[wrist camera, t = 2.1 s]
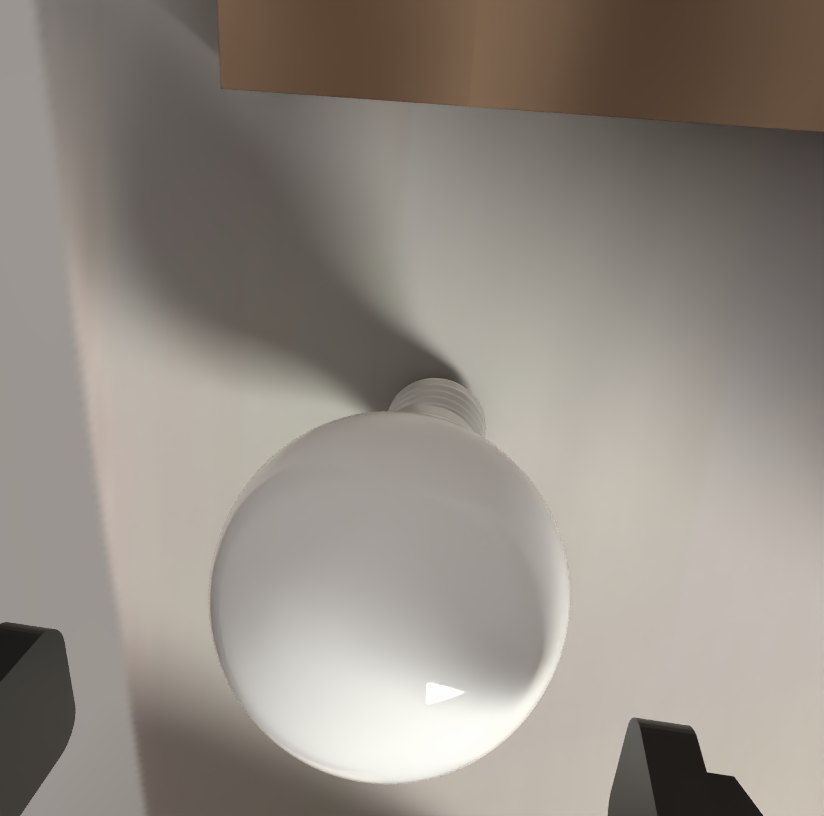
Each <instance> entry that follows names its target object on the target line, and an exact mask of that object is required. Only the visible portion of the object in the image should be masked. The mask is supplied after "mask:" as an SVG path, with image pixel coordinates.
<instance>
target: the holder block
mask: <svg viewBox="0 0 824 816" xmlns="http://www.w3.org/2000/svg"><path fill="white" fill-rule="evenodd" d="M217 6H218V32H219V57H220V83H221V89H234V90H248V91H262V92H276V93H290V94H304V95H317V96H331V97H345V98H359V99H373V100H387V101H401V102H414V103H428V104H442V105H456V106H470V107H484V108H498V109H512V110H525V111H539V112H553V113H567V114H581V115H595V116H609V117H623V118H636V119H650V120H664V121H678V122H692V123H706V124H720V125H733V126H747V127H761V128H775V129H789V130H803V131H817V132H824V0H217Z"/></svg>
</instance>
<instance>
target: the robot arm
mask: <svg viewBox="0 0 824 816" xmlns="http://www.w3.org/2000/svg"><path fill="white" fill-rule="evenodd" d="M74 720H75V702H74V697H73V691H72V685H71V678H70V673H69V666H68V661H67V654H66V648H65V642H64V638H63V636H62V634H61V633H60V631H58V630H55V629H49V628H43V627H36V626H29V625H22V624H16V623H8V622H5V623H1V624H0V816H20V815H21V814H22V812H23V811H24V809H25V808H26V806H27V805H28V803H29V802H30V800H31V799H32V797H33V796H34V794H35V793H36V791H37V790H38V789H39V787H40V786H41V784H42V783H43V781H44V780H45V778H46V777H47V775H48V774H49V772H50V771H51V769H52V768H53V767H54V765H55V764H56V762H57V761H58V759H59V758H60V756H61V754H62V753H63V751H64V750H65V748H66V746H67V743H68V741H69V739H70V736H71V733H72V729H73V725H74ZM608 816H763V815H762V813H761V812H760V811H759V809H758V808H757V807H756V805H755V804H754V803H753V801H752V800H751V799H750V797H749V796H748V795H747V793H746V792H745V791H744V789H743V788H742V787H741V785H740V784H739V783H738V781H737V780H736V779H735V777H733V776H727V775H720V774H714V773H707V771H706V768H705V764H704V761H703V757H702V753H701V750H700V746H699V743H698V739H697V736H696V734H695V732H694V730H693V728H692V727H691V726H687V725H680V724H674V723H667V722H660V721H653V720H647V719H640V718H632V719H631V720H630V722H629V725H628V728H627V732H626V735H625V739H624V743H623V747H622V751H621V755H620V759H619V763H618V766H617V770H616V774H615V778H614V782H613V786H612V790H611V794H610V799H609V807H608Z"/></svg>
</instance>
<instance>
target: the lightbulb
mask: <svg viewBox="0 0 824 816" xmlns="http://www.w3.org/2000/svg"><path fill="white" fill-rule="evenodd" d="M485 430H486V421H485V415H484V412H483V409H482V407H481V405H480V403H479V401H478V400H477V399H476V397H475V396H474V395H473V394H472V393H471V392H470V391H469V390H467V389H466V388H465V387H463V386H462V385H460V384H458V383H456V382H454V381H451V380H447V379H442V378H427V379H422V380H418V381H416V382H413V383H411V384H409V385H408V386H406V387H405V388H403V389H402V390H401V391H400V392H399V393H398V394H397V395H396V397H395V398H394V399H393V401H392V403H391V405H390V408H389V410H388V411H376V412H367V413H361V414H356V415H351V416H347V417H343V418H340V419H337V420H334V421H331V422H328V423H325V424H323V425H321V426H318V427H316V428H314V429H312V430H310V431H308V432H306V433H305V434H303V435H301V436H299V437H298V438H296V439H295V440H293V441H291V442H290V443H289V444H287V445H286V446H284V447H283V448H282V449H281V450H279V451H278V452H277V453H276V454H274V455H273V456H272V457H271V458H270V459H269V460H268V461H267V462H266V463H265V464H264V465H263V466H262V467H261V468H260V469H259V470H258V471H257V472H256V473H255V474H254V476H253V477H252V478H251V479H250V481H249V482H248V483H247V484H246V486H245V487H244V489H243V490H242V492H241V493H240V495H239V496H238V498H237V499H236V501H235V503H234V504H233V506H232V508H231V510H230V512H229V514H228V516H227V518H226V521H225V523H224V525H223V528H222V530H221V533H220V536H219V538H218V542H217V545H216V548H215V552H214V556H213V561H212V566H211V572H210V580H209V594H208V605H209V620H210V627H211V633H212V638H213V643H214V647H215V651H216V654H217V658H218V661H219V663H220V666H221V669H222V671H223V674H224V676H225V678H226V680H227V682H228V684H229V686H230V688H231V690H232V692H233V694H234V695H235V697H236V699H237V700H238V702H239V703H240V705H241V706H242V708H243V709H244V711H245V712H246V713H247V715H248V716H249V717H250V718H251V720H252V721H253V722H254V723H255V724H256V725H257V727H258V728H259V729H260V730H261V731H262V732H263V733H264V734H265V735H266V736H267V737H268V738H270V739H271V740H272V741H273V742H274V743H275V744H277V745H278V746H279V747H280V748H282V749H283V750H284V751H286V752H287V753H289V754H290V755H292V756H293V757H295V758H296V759H298V760H300V761H302V762H303V763H305V764H307V765H309V766H311V767H313V768H315V769H317V770H320V771H322V772H325V773H327V774H330V775H333V776H336V777H340V778H343V779H347V780H351V781H357V782H363V783H371V784H405V783H413V782H419V781H425V780H429V779H433V778H437V777H440V776H443V775H446V774H449V773H452V772H454V771H456V770H459V769H461V768H463V767H465V766H467V765H469V764H471V763H473V762H475V761H477V760H478V759H480V758H482V757H483V756H485V755H486V754H488V753H489V752H491V751H492V750H494V749H495V748H496V747H498V746H499V745H500V744H501V743H503V742H504V741H505V740H506V739H507V738H508V737H509V736H510V735H511V734H513V733H514V732H515V731H516V730H517V728H518V727H519V726H520V725H521V724H522V723H523V722H524V721H525V720H526V718H527V717H528V716H529V715H530V713H531V712H532V711H533V709H534V708H535V706H536V705H537V704H538V702H539V700H540V699H541V697H542V696H543V694H544V692H545V691H546V689H547V687H548V685H549V683H550V681H551V679H552V677H553V675H554V672H555V670H556V668H557V665H558V662H559V660H560V657H561V654H562V650H563V647H564V643H565V639H566V635H567V629H568V623H569V615H570V578H569V570H568V564H567V558H566V554H565V550H564V546H563V542H562V539H561V536H560V533H559V530H558V527H557V525H556V522H555V520H554V518H553V516H552V514H551V512H550V510H549V508H548V506H547V504H546V502H545V500H544V499H543V497H542V495H541V494H540V492H539V491H538V489H537V488H536V486H535V485H534V484H533V482H532V481H531V480H530V478H529V477H528V476H527V475H526V474H525V472H524V471H523V470H522V469H521V468H520V467H519V466H518V465H517V464H516V463H515V462H514V461H513V460H512V459H511V458H510V457H509V456H508V455H507V454H506V453H504V452H503V451H502V450H501V449H499V448H498V447H497V446H496V445H494V444H493V443H491V442H490V441H488V440H487V439H485Z"/></svg>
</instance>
